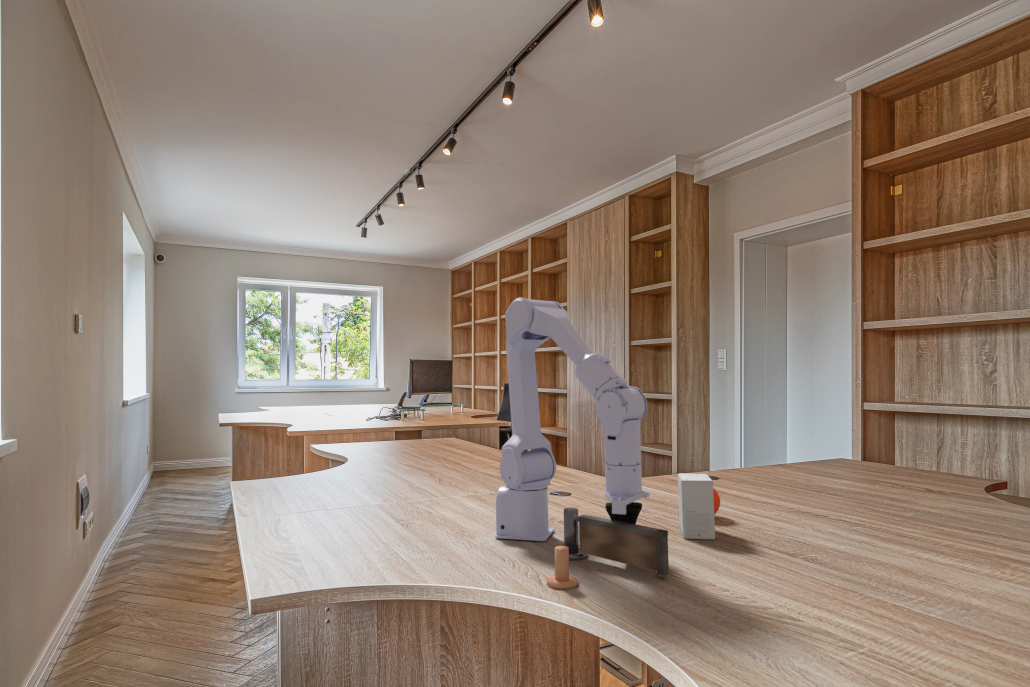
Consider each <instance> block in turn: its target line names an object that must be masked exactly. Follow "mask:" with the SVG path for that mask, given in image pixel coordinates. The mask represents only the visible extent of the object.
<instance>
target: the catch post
mask: <svg viewBox="0 0 1030 687" xmlns="http://www.w3.org/2000/svg"><path fill="white" fill-rule="evenodd" d="M578 579H579V578H578V577H577V576H576V575H575V576H574V575H572V574H570V560H569V548H568V547H566V546H564V545H558V546H557V545H556V546H555V547H554V574H552V575H549V576H547V577H546V585H547V586H548V587H549V588H552V589H556V590H569V589H570V590H571V589H574V588H576V587H577V586H578V585H579V583H578V582H579V580H578Z"/></svg>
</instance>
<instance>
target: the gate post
mask: <svg viewBox="0 0 1030 687" xmlns="http://www.w3.org/2000/svg"><path fill="white" fill-rule="evenodd" d="M578 516H579V508H577V507H565V508H563V544H564V545H563V546H566V547H568V548H569V561H580V560H584V559H586V558H587V557H588V554H584V553H580V544H579V522H578Z"/></svg>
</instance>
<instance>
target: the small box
mask: <svg viewBox="0 0 1030 687" xmlns="http://www.w3.org/2000/svg"><path fill="white" fill-rule="evenodd" d="M677 484H678V485H677V487H678V489H677V490H678V514H679V528H680V531H681V533H682V536H683V539H685V540H716V523H715V522H716V521H715V515H714V495H713V488H714V480H713V479H712V478H711V477H710V476H709V475H708V474H707V473H687V472H686V473H683V472H681V473H680V472H679V473H678V474H677Z"/></svg>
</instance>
